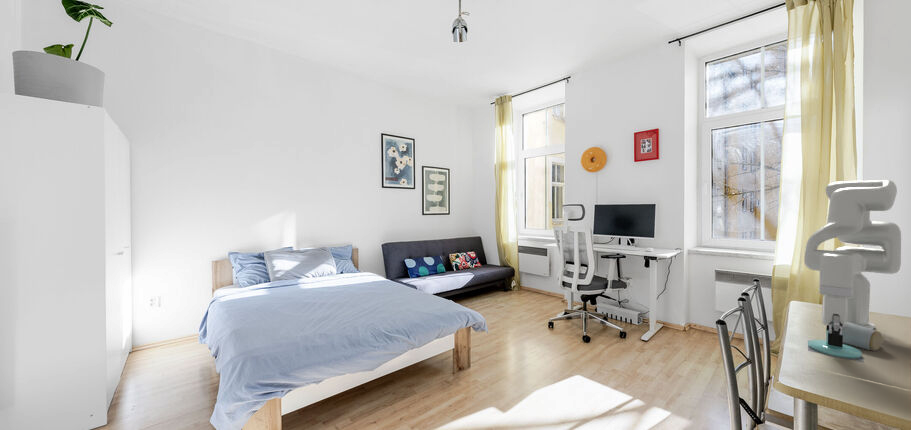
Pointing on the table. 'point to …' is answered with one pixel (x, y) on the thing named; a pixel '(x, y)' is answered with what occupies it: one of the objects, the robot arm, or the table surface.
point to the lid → (834, 349)
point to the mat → (836, 356)
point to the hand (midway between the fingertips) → (834, 341)
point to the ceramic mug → (861, 337)
